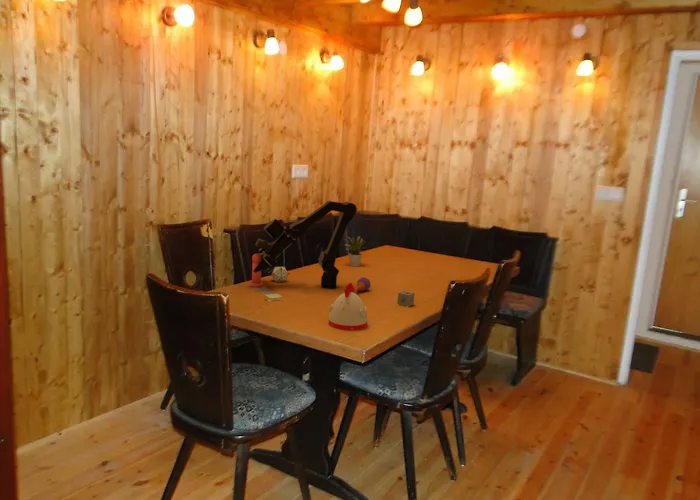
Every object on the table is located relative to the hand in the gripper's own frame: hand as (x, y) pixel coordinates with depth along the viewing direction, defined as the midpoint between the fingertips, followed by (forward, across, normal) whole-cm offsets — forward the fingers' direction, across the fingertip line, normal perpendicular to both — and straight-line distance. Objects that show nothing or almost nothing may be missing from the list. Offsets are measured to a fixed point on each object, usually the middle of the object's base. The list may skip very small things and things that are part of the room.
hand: (253, 270), depth 244 cm
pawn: (+4, 0, +6) cm, 7 cm away
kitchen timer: (-14, +53, +25) cm, 60 cm away
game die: (-4, -8, +15) cm, 17 cm away
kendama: (-25, +12, +36) cm, 46 cm away
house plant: (-36, -46, +48) cm, 75 cm away
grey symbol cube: (-36, +31, +47) cm, 67 cm away
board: (+3, +9, +8) cm, 12 cm away
